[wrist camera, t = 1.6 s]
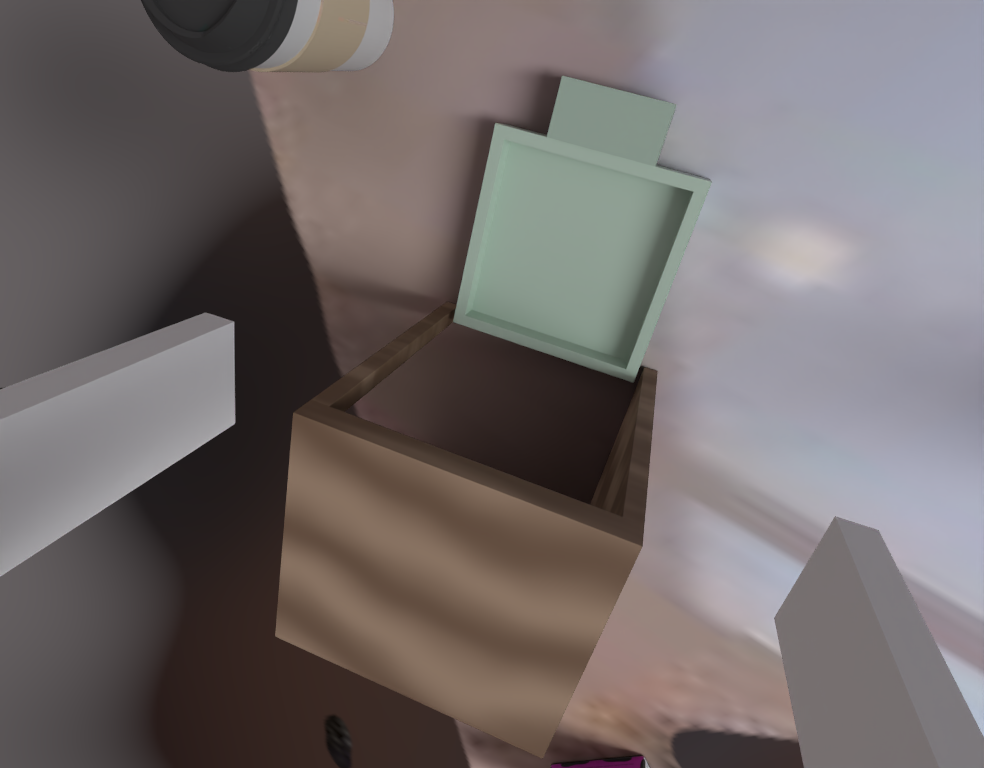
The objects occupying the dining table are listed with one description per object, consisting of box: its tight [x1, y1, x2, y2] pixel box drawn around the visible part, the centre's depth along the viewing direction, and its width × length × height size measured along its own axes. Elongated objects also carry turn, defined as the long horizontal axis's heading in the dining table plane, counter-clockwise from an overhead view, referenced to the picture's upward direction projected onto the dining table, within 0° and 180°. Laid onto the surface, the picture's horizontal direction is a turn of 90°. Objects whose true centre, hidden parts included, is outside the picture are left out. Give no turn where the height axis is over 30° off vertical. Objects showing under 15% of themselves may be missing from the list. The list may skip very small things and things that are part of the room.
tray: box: [453, 76, 712, 382], centre depth 39 cm, size 18×14×2 cm
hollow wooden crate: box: [275, 302, 657, 759], centre depth 38 cm, size 16×17×20 cm
